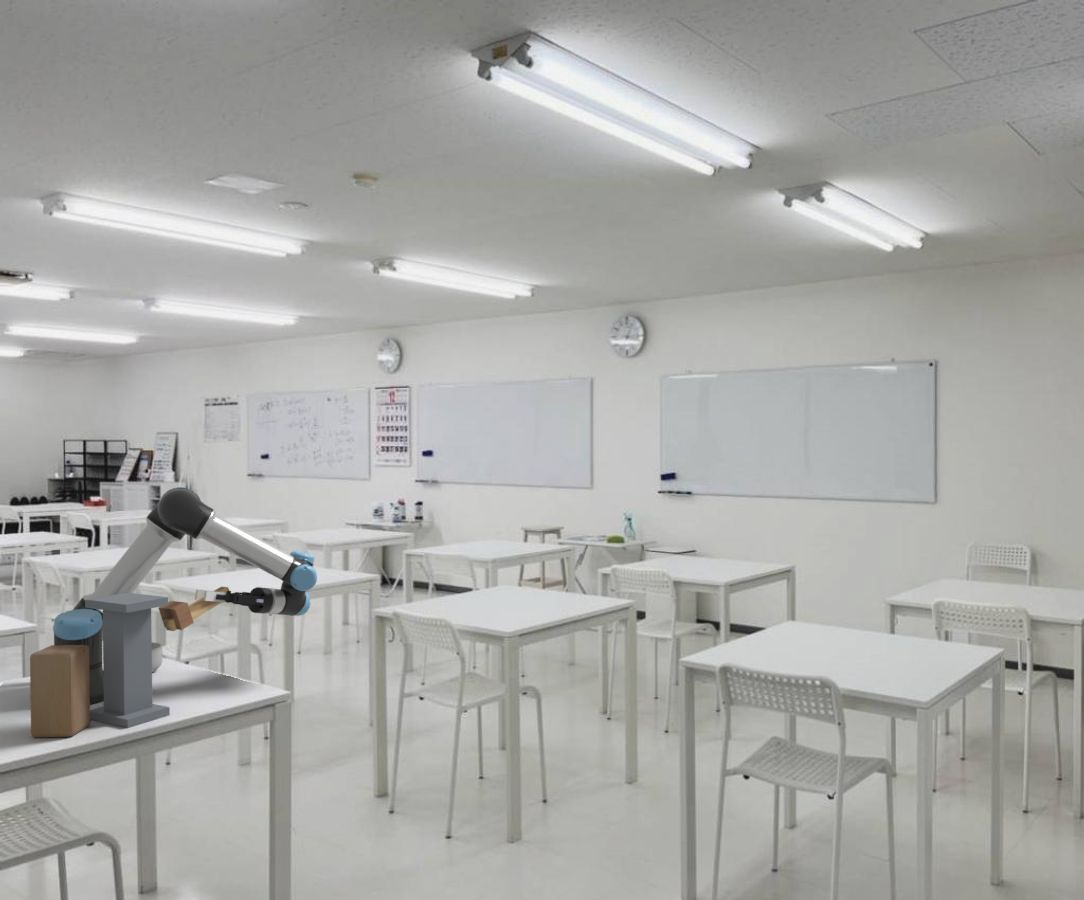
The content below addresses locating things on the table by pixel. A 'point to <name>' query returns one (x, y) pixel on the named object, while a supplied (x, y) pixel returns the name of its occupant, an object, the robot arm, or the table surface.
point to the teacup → (156, 655)
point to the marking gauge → (186, 611)
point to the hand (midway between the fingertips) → (200, 595)
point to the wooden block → (59, 690)
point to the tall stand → (127, 659)
